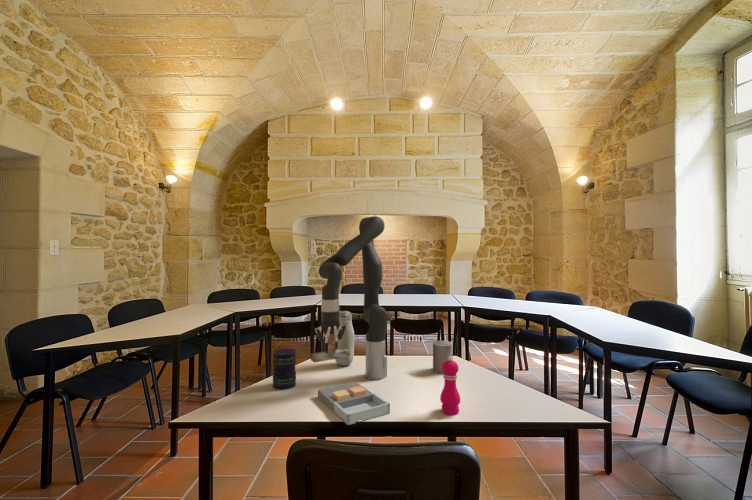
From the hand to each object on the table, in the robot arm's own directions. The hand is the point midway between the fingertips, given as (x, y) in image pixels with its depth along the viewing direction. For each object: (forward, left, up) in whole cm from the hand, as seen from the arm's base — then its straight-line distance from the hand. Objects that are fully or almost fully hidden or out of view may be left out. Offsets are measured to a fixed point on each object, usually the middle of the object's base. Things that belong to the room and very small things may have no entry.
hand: (330, 350), depth 146 cm
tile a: (-5, +15, -14) cm, 21 cm away
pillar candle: (-58, +5, -17) cm, 61 cm away
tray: (-2, +25, -17) cm, 30 cm away
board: (-2, +11, -17) cm, 20 cm away
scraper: (0, 0, -3) cm, 3 cm away
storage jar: (+15, -16, -17) cm, 28 cm away
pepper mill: (-30, +40, -17) cm, 53 cm away
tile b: (+2, +15, -14) cm, 20 cm away
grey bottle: (-20, -28, -17) cm, 38 cm away
